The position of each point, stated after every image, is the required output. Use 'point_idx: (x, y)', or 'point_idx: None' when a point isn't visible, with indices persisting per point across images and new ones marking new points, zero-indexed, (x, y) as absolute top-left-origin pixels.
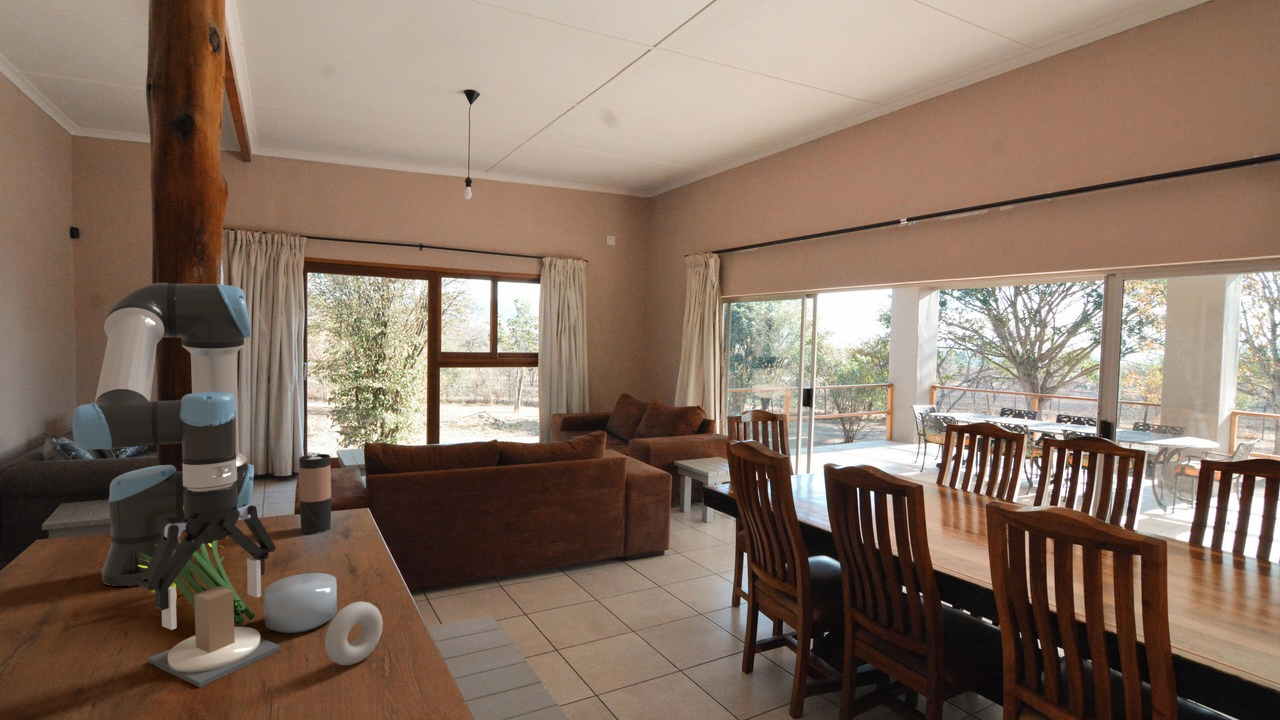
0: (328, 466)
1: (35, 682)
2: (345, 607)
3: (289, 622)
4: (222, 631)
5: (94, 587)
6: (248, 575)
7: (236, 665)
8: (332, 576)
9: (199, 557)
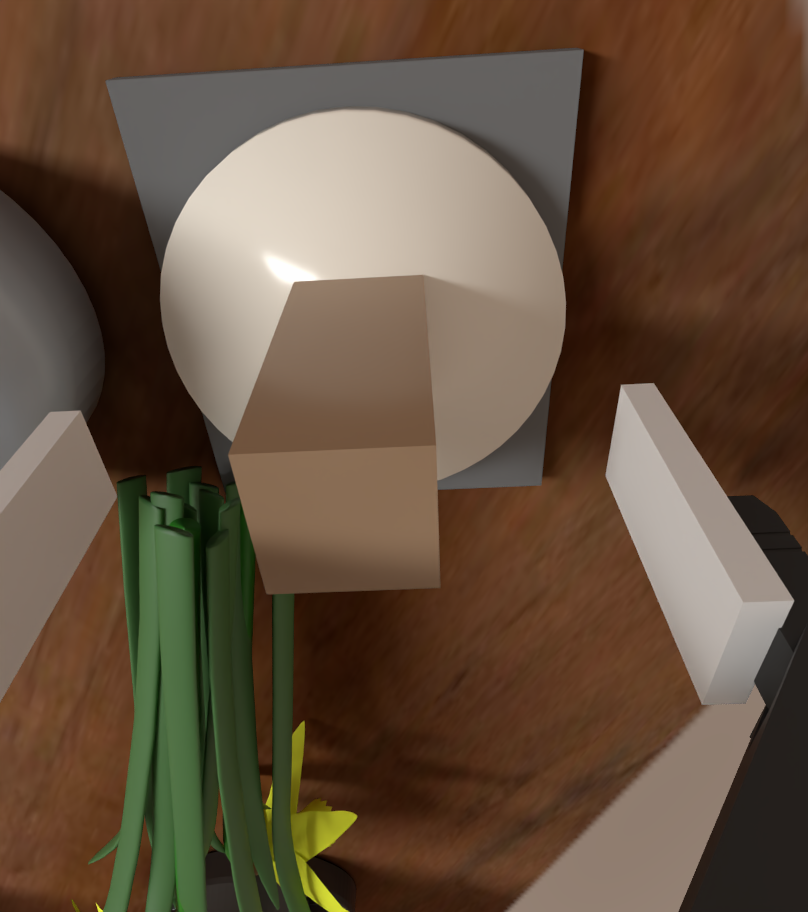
0: None
1: None
2: None
3: None
4: (350, 314)
5: (374, 887)
6: (52, 588)
7: (374, 66)
8: None
9: (188, 890)
